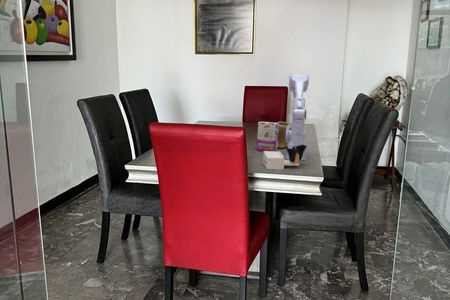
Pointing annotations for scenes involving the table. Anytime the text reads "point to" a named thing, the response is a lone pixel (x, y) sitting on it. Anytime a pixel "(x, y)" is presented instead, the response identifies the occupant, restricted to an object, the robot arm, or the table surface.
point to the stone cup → (282, 134)
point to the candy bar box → (267, 136)
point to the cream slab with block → (287, 162)
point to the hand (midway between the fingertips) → (295, 160)
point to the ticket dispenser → (273, 160)
